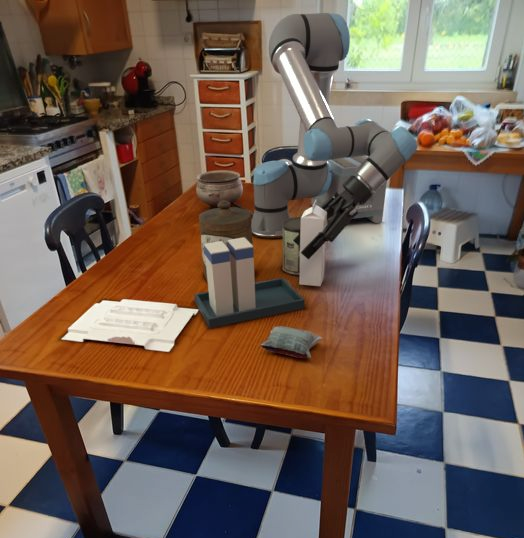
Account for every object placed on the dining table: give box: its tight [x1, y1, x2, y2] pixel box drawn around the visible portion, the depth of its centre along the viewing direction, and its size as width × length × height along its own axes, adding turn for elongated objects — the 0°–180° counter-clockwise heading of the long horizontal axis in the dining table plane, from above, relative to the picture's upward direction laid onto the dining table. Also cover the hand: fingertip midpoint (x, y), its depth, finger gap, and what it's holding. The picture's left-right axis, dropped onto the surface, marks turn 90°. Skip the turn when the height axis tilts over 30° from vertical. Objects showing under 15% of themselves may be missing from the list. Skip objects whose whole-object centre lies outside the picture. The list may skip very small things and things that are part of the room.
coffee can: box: [282, 216, 302, 276], centre depth 143 cm, size 10×10×14 cm
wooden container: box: [198, 200, 254, 281], centre depth 138 cm, size 15×15×22 cm
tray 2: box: [61, 298, 199, 353], centre depth 121 cm, size 20×28×4 cm
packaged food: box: [259, 325, 323, 359], centre depth 109 cm, size 9×12×5 cm
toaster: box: [310, 156, 388, 224], centre depth 182 cm, size 19×33×20 cm, turn 14°
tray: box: [193, 277, 306, 329], centre depth 127 cm, size 15×26×3 cm, turn 111°
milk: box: [298, 200, 328, 287], centre depth 130 cm, size 6×6×22 cm
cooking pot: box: [195, 169, 244, 209], centre depth 198 cm, size 25×19×12 cm
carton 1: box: [204, 241, 234, 316], centre depth 121 cm, size 7×5×17 cm
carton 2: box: [227, 237, 256, 311], centre depth 123 cm, size 7×5×17 cm
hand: (300, 249), depth 130 cm, fingers closed on milk, 8 cm apart
